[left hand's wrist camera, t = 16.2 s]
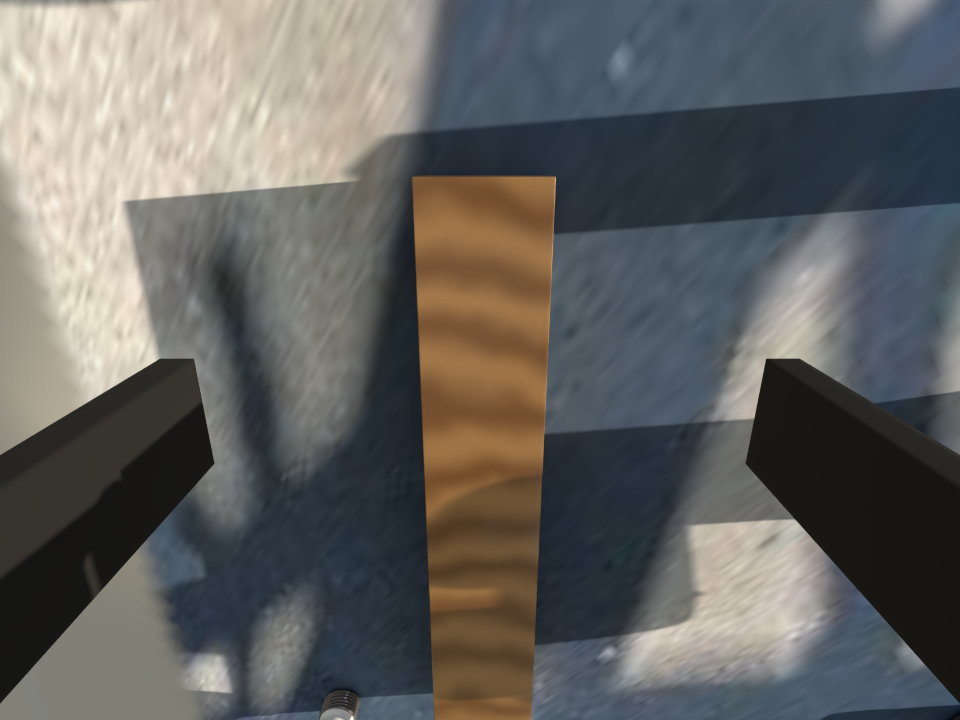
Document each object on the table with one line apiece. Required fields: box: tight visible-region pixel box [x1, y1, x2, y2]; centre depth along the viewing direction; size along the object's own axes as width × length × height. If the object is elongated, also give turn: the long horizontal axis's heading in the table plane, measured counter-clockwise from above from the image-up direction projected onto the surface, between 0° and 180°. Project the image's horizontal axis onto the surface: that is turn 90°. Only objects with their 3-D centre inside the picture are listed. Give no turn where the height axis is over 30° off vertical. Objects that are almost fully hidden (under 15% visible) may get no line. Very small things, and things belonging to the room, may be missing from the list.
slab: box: [412, 175, 556, 720], centre depth 49 cm, size 56×10×7 cm, turn 0°
